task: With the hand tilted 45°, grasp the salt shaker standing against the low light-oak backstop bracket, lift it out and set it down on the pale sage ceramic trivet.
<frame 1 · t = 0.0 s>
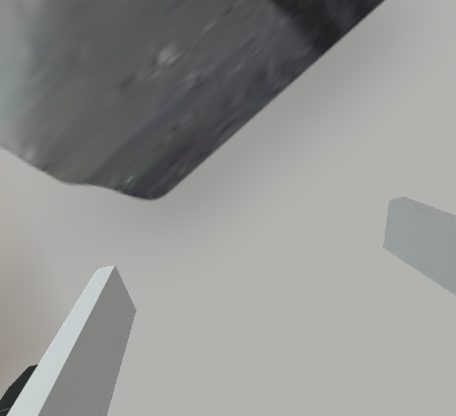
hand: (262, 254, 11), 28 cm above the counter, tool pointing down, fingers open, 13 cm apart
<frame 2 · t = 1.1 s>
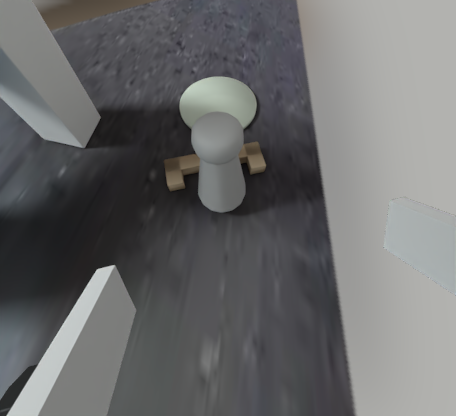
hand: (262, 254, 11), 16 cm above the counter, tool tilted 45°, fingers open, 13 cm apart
oak holder: (222, 197, 29), on the counter
salt shaker: (222, 198, 29), on the counter
milk: (74, 129, 33), on the counter, touching arm
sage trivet: (218, 106, 35), on the counter
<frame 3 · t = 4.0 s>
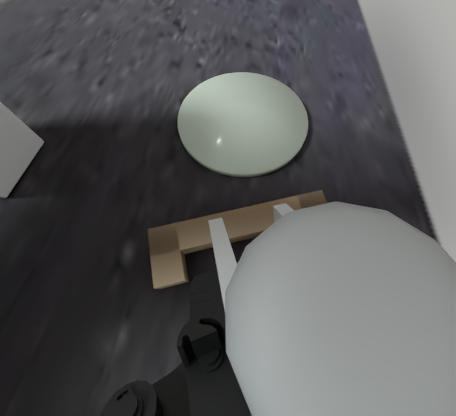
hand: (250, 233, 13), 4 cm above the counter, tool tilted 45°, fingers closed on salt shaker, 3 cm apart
oak holder: (260, 303, 15), on the counter
salt shaker: (260, 303, 15), on the counter, touching gripper
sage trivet: (242, 122, 21), on the counter
when the fingers open (5 cm above the counter, at t = 8.6 s): salt shaker stays where it is, resting on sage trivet.
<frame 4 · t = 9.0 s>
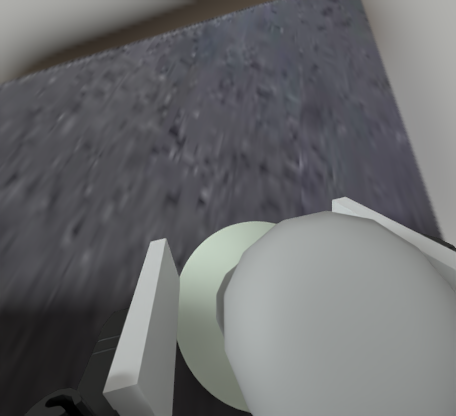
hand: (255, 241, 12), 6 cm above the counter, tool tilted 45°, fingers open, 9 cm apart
salt shaker: (258, 304, 15), resting on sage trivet
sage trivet: (259, 303, 16), on the counter
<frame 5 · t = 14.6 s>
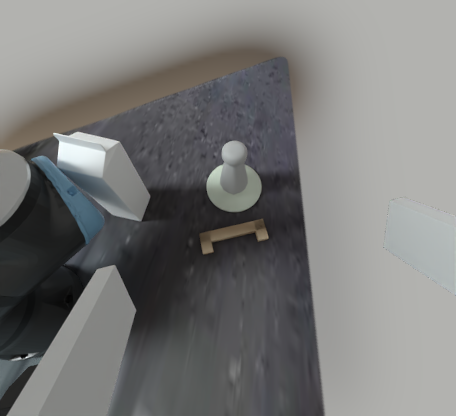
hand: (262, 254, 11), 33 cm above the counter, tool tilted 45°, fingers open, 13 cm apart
oak holder: (239, 259, 43), on the counter
salt shaker: (233, 186, 48), resting on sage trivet
milk: (132, 206, 47), on the counter, touching arm
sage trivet: (233, 187, 49), on the counter
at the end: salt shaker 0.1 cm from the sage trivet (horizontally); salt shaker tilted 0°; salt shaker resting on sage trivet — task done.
